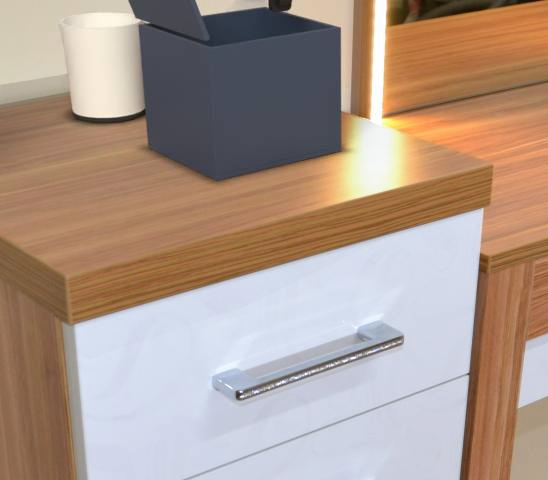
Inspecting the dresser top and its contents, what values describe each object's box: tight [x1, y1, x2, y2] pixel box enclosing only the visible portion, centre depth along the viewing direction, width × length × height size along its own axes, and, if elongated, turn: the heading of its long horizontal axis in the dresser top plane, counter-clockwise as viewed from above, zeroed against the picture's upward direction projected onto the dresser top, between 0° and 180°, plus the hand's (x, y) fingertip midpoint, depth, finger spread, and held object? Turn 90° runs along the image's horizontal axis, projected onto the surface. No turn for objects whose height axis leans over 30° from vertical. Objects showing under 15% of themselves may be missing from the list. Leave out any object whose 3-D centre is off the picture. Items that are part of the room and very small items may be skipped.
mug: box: [58, 11, 149, 124], centre depth 127 cm, size 11×9×10 cm
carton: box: [138, 7, 342, 182], centre depth 115 cm, size 15×13×12 cm
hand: (255, 3), depth 112 cm, fingers open, 8 cm apart
